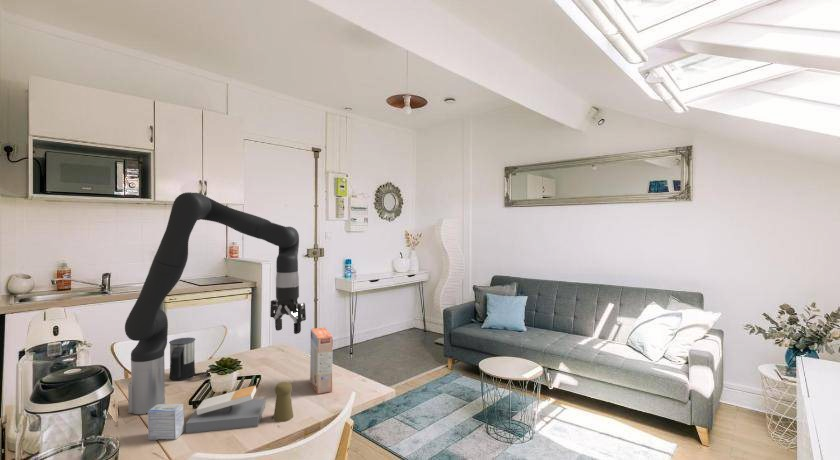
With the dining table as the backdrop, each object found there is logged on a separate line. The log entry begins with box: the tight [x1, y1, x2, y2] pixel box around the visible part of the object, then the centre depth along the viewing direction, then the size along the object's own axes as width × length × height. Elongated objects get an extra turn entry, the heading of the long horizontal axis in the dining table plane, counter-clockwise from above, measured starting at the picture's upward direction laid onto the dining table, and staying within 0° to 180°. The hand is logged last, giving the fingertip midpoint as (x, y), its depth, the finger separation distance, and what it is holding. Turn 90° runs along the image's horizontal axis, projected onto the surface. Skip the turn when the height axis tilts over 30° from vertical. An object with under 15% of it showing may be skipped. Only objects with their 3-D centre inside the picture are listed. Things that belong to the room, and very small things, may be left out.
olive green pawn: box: [273, 381, 294, 423], centre depth 127 cm, size 6×6×11 cm
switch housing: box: [185, 397, 266, 434], centre depth 126 cm, size 20×13×5 cm, turn 102°
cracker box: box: [309, 327, 334, 395], centre depth 151 cm, size 14×6×21 cm, turn 25°
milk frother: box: [168, 337, 211, 382], centre depth 159 cm, size 14×16×15 cm
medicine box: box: [147, 403, 185, 441], centre depth 116 cm, size 8×4×9 cm, turn 92°
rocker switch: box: [195, 385, 257, 415], centre depth 125 cm, size 16×7×2 cm, turn 102°
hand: (287, 331), depth 136 cm, fingers open, 8 cm apart
